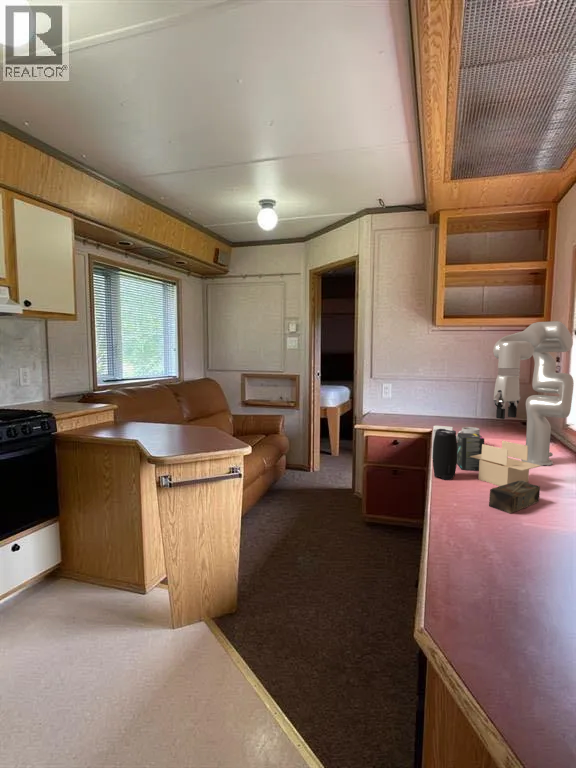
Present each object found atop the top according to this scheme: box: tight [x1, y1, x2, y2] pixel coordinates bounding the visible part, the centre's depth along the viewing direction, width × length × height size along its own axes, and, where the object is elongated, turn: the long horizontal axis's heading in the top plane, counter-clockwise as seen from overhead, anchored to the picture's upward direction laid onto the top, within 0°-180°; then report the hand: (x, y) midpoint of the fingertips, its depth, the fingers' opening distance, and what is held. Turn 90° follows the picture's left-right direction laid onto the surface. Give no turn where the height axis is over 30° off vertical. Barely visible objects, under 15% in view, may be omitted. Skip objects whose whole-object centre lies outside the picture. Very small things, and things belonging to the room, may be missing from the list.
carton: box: [470, 454, 542, 487], centre depth 162 cm, size 14×22×8 cm, turn 30°
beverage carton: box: [488, 481, 541, 514], centre depth 138 cm, size 8×19×7 cm, turn 124°
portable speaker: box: [432, 429, 458, 481], centre depth 167 cm, size 9×9×20 cm
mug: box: [456, 426, 481, 438], centre depth 220 cm, size 11×10×10 cm
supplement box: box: [431, 425, 454, 460], centre depth 197 cm, size 9×9×15 cm
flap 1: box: [481, 443, 509, 465], centre depth 158 cm, size 6×11×1 cm
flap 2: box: [501, 440, 528, 461], centre depth 165 cm, size 6×11×1 cm
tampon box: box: [456, 432, 485, 472], centre depth 181 cm, size 11×9×15 cm
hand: (506, 417), depth 161 cm, fingers open, 6 cm apart
